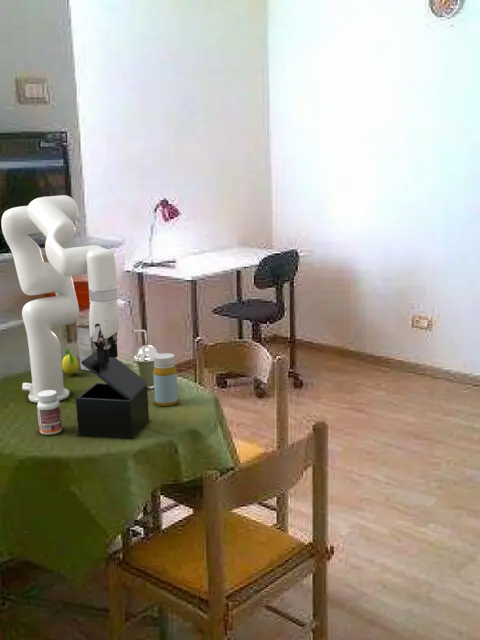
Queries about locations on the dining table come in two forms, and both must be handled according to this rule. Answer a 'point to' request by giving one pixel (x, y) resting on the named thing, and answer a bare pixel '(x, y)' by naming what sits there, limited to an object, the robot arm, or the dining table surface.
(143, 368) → the cup with straw
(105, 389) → the waste bin
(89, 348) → the coffee box
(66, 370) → the lemon
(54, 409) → the pill bottle
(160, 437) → the dining table surface
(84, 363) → the bin lid
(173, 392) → the bottle
